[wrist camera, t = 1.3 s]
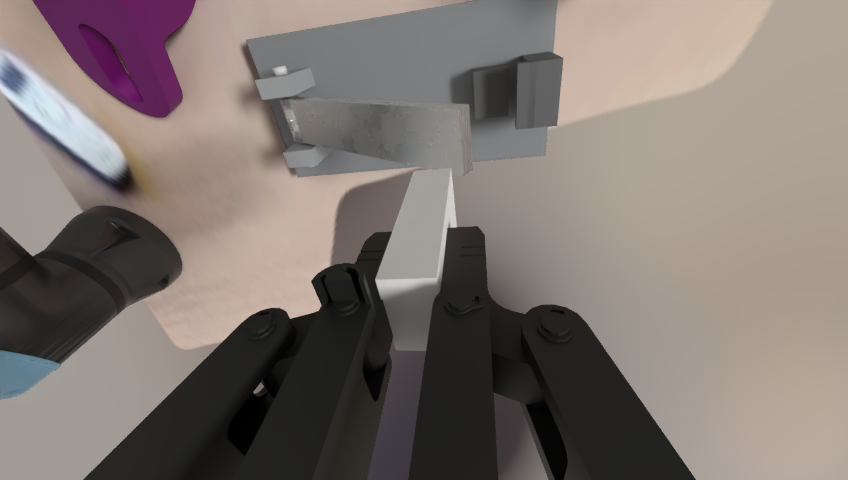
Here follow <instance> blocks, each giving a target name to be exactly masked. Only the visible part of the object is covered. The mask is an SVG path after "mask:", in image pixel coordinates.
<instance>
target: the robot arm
mask: <svg viewBox="0 0 848 480" xmlns="http://www.w3.org/2000/svg"><path fill="white" fill-rule="evenodd" d="M181 272H182V261H181V258H180V255H179V253H178V251H177V250H176V248H175V246H174V245H173V244H172V242H171V241H170V240H169V239H168V238H167V237H166V236H165V235H164V234H163V233H162V232H161V231H160V230H159V229H158V228H156V227H155V226H154V225H152V224H151V223H149V222H148V221H146V220H145V219H143V218H141V217H139V216H138V215H136V214H133V213H131V212H129V211H126V210H123V209H120V208H116V207H111V206H97V207H93V208H91V209H89V210H87V211H85V212H83V213H81V214H79V215H77V216H76V217H74V218H73V219H72V220H71V221H70V222H69V223H68V224H67V225H66V227H65V228H64V229H63V230H62V231H61V232H60V233H59V234H58V236H57V237H56V238H55V239H54V240H53V241H52V242H51V243H50V245H49V246H48V247H47V248H46V249H45V250H43V251H42V252H40V253H38V254H36V255H35V256H31V255H30V254H29V253H28V252H27V251H26V250H25V249H24V248H22V246H20V244H18V243H17V242H16V241H15V240H14V239H13V238H12V237H11V236H10V235H9V234H8V233H6V232H5V231H4V230H3V229H2V228H1V227H0V399H6V398H11V397H15V396H18V395H20V394H22V393H24V392H26V391H27V390H29V389H30V388H31V387H33V386H34V385H35V384H37V383H38V382H39V381H41V380H42V379H43V378H44V377H46V376H47V375H48V374H50V373H51V372H52V371H53V370H56V369H58V368H59V367H60V366H61V364H62V363H63V362H64V361H65V360H66V359H68V358H69V357H70V356H71V355H72V354H73V353H74V352H76V351H77V350H78V349H79V348H80V347H81V346H82V345H83V344H85V343H86V342H87V341H88V340H89V339H90V338H91V337H92V336H94V335H95V334H96V333H97V332H98V331H99V330H101V329H102V328H103V327H104V326H105V325H106V324H107V323H108V322H110V321H111V320H112V319H113V318H114V317H115V316H116V315H118V314H119V313H120V312H121V311H122V310H124V309H125V308H126V307H127V306H129V305H132V304H134V303H136V302H138V301H140V300H142V299H144V298H147V297H149V296H151V295H153V294H155V293H157V292H159V291H162V290H164V289H165V288H167V287H168V286H169V285H171V284H172V283H173V282H174V281H175V280H176V279H177V278H178V277H179V276H180V274H181ZM311 282H312V284H313V287H314V289H315V291H316V293H317V296H318V298H319V300H320V302H321V305H322V306H321V308H320V310H319V311H317V312H314V313H311V314H308V315H304V316H300V317H296V318H292V319H290V318H289V316H288V314H287V312H286V311H284V310H282V309H280V308H269V309H265V310H261V311H259V312H257V313H255V314H253V315H251V316H250V317H249V318H247V319H246V320H245V321H244V322H242V323H241V324H240V325H239V326H238V327H237V328H236V329H235V330H234V331H233V332H232V333H231V334H230V335H229V336H228V337H227V338H226V339H225V340H224V341H223V342H222V343H221V344H220V345H219V346H218V347H217V348H216V349H215V350H214V351H213V352H212V353H211V354H210V355H209V356H208V357H207V358H206V359H205V360H204V361H203V362H202V363H201V364H200V365H199V366H198V367H197V368H196V369H195V370H194V371H193V372H192V373H191V374H190V375H189V376H188V377H187V378H186V379H185V380H184V381H183V382H182V383H181V384H179V385H178V387H176V389H174V390H173V391H172V393H170V394H169V395H168V396H167V397H166V398H165V399H164V400H163V401H162V402H161V403H160V404H159V405H158V406H157V407H156V408H155V409H154V410H153V411H152V412H151V413H150V414H149V415H148V416H147V417H146V418H145V419H144V420H143V421H142V422H141V423H140V424H139V425H138V426H137V427H136V428H135V429H134V430H133V431H132V432H131V433H130V434H129V435H128V436H127V437H126V438H125V439H124V440H123V441H122V442H121V443H120V444H119V445H118V446H117V447H116V448H115V449H114V450H113V451H112V452H111V453H110V454H109V455H108V456H107V457H106V458H105V459H104V460H103V461H102V462H101V463H100V464H99V465H98V466H97V467H96V468H95V469H94V470H93V471H92V472H91V473H89V474H88V475H87V476H86V477H85V479H84V480H367V477H368V473H369V468H370V464H371V460H372V455H373V450H374V446H375V442H376V436H377V432H378V428H379V423H380V419H381V414H382V410H383V405H384V401H385V396H386V392H387V387H388V383H389V378H390V373H391V369H392V360H391V357H390V354H389V351H390V347H391V343H392V339H393V342H394V346H395V349H396V350H406V351H426V356H425V363H424V370H423V378H422V385H421V392H420V399H419V406H418V414H417V421H416V428H415V436H414V443H413V450H412V457H411V464H410V471H409V479H408V480H498V469H497V448H496V430H495V412H494V393H497V394H500V395H502V396H505V397H508V398H510V399H513V400H516V401H518V402H520V404H521V407H522V410H523V412H524V415H525V417H526V420H527V423H528V426H529V428H530V431H531V433H532V436H533V439H534V442H535V444H536V447H537V450H538V452H539V455H540V458H541V460H542V463H543V466H544V468H545V471H546V474H547V477H548V479H549V480H696V479H695V478H694V476H693V475H692V473H691V472H690V471H689V469H688V468H687V466H686V465H685V464H684V462H683V461H682V459H681V458H680V456H679V455H678V453H677V452H676V451H675V449H674V448H673V446H672V445H671V443H670V442H669V440H668V439H667V438H666V436H665V435H664V433H663V432H662V430H661V429H660V428H659V426H658V425H657V423H656V422H655V420H654V419H653V418H652V416H651V415H650V413H649V412H648V411H647V409H646V408H645V406H644V405H643V403H642V402H641V400H640V399H639V398H638V396H637V395H636V393H635V392H634V390H633V389H632V388H631V386H630V385H629V383H628V382H627V380H626V379H625V377H624V376H623V375H622V373H621V372H620V370H619V369H618V367H617V366H616V365H615V363H614V362H613V360H612V359H611V357H610V356H609V355H608V353H607V352H606V350H605V349H604V347H603V346H602V345H601V343H600V342H599V340H598V339H597V337H595V335H594V333H593V332H592V330H591V329H590V327H589V326H588V324H587V323H586V322H585V321H584V320H583V319H582V318H581V317H580V316H579V315H578V314H577V313H575V312H574V311H572V310H570V309H568V308H566V307H562V306H558V305H540V306H537V307H534V308H532V309H530V310H529V311H528V312H527V313H526V314H522V313H518V312H514V311H511V310H508V309H505V308H503V307H502V306H500V305H498V304H497V303H496V302H495V301H494V300H493V299H492V298H491V297H490V295H489V292H488V288H487V270H486V253H485V236H484V234H483V233H482V231H481V230H480V229H479V227H477V226H474V227H457V226H456V214H455V204H454V193H453V183H452V172H451V168H445V169H433V170H421V171H414V173H413V176H412V179H411V181H410V184H409V187H408V190H407V192H406V195H405V198H404V201H403V204H402V206H401V209H400V212H399V215H398V217H397V220H396V223H395V226H394V229H393V231H392V232H376V233H374V234H373V235H372V236H370V237H369V238H368V239H367V240H366V241H365V243H364V245H363V247H362V249H361V253H360V254H359V256H358V258H357V262H355V264H350V263H343V264H336V265H333V266H331V267H328V268H326V269H324V270H323V271H321V272H320V273H318V274H317V275H316V276H315V277H314V278H313V280H312V281H311ZM260 383H262V384H263V385H264V388H263V389H262V390H261V391H260V392H259V393H256V394H254V393H253V391H254V390H255V389H256V387H257V386H258V385H259V384H260Z"/></svg>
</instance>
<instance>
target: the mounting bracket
mask: <svg viewBox="0 0 848 480" xmlns="http://www.w3.org/2000/svg"><path fill="white" fill-rule="evenodd" d="M195 1H196V0H33V2H34V3H35V5H36V6H37V8H38V9H39V10H40V12H41V13H42V15H43V16H44V18H45V19H46V21H47V22H48V24H49V25H50V27H51V28H52V30H53V31H54V32H55V34H56V35H57V37H58V38H59V40H60V41H61V43H62V44H63V46H64V47H65V49H66V50H67V52H68V53H69V54H70V56H71V57H72V58H73V60H74V61H75V62H76V63H77V64H78V66H79V67H80V68H81V69H82V70H83V71H84V72H85V73H86V74H87V75H88V76H89V77H90V78H91V79H92V80H93V81H95V82H96V83H97V84H98V85H99V86H100V87H102V88H103V89H104V90H105V91H107V92H108V93H109V94H111V95H112V96H114V97H115V98H117V99H118V100H120V101H121V102H123V103H124V104H126V105H128V106H129V107H131V108H133V109H135V110H137V111H139V112H141V113H144V114H147V115H150V116H153V117H165V116H167V115H168V114H169V113H170V112H171V111H172V110H174V109H175V108H176V107H177V106H178V105H179V104H180V103H181V101H182V98H183V95H182V90H181V87H180V85H179V82H178V80H177V77H176V74H175V72H174V69H173V67H172V64H171V61H170V59H169V56H168V54H167V51H166V49H165V39H166V38H167V36H169V35H170V34H171V33H172V32H174V31H175V30H176V29H178V28H179V27H180V26H181V25H183V24H184V23H185V21H186V20H187V19H188V17H189V16H190V14H191V12H192V10H193V7H194V4H195ZM109 41H110V42H111V43H112V44H113V45H114V46H115V48H116V49H117V51H118V52H119V54H120V56H121V58H122V60H123V62H124V64H125V66H126V67H127V69H128V71H129V73H130V75H131V77H132V79H133V80H132V79H131V78H130V76H129V75H128V74H127V73H126V71H125V70H124V68H123V66H122V64H121V62H120V60H119V59H118V57H117V55H116V53H115V51H114V49H113V47H112V46H111V44H110V42H109Z"/></svg>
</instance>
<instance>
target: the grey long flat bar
mask: <svg viewBox="0 0 848 480" xmlns="http://www.w3.org/2000/svg"><path fill="white" fill-rule="evenodd" d="M280 102H281V105H282V108H283V111H284V113H285V116H286V119H287V122H288V124H289V127H290V130H291V133H292V135H293V138H294V141H295V143H307V144H312V145H317V146H322V147H327V148H331V149H336V150H341V151H346V152H350V153H355V154H360V155H365V156H370V157H374V158H379V159H384V160H389V161H394V162H398V163H403V164H408V165H413V166H417V167H422V168H427V169H432V170H433V169H445V168H451V172H452V174H456V175H461V176H465V175H466V174H468V173H469V172H471V171H472V170H473V165H472V147H471V129H470V111H469V104H453V103H430V102H407V101H384V100H361V99H338V98H315V97H299V96H290V97H286V98H282V99H280Z"/></svg>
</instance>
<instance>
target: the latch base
mask: <svg viewBox="0 0 848 480" xmlns="http://www.w3.org/2000/svg"><path fill="white" fill-rule="evenodd" d="M556 9H557V0H476V1H470V2H464V3H458V4H452V5H446V6H441V7H435V8H429V9H423V10H417V11H411V12H406V13H400V14H394V15H388V16H382V17H377V18H371V19H365V20H359V21H353V22H347V23H342V24H336V25H330V26H324V27H318V28H313V29H307V30H301V31H295V32H289V33H283V34H278V35H272V36H266V37H260V38H254V39H248V40H246V42H247V45H248V47H249V50H250V53H251V55H252V58H253V61H254V63H255V66H256V68H257V71H258V74H259V76H260V79H257V80H254V81H255V83H256V86H257V88H258V91H259V93H260V96H261V98H262V100H267V99H268V100H269V103H270V105H271V108H272V110H273V113H274V116H275V118H276V121H277V124H278V126H279V129H280V131H281V134H282V137H283V139H284V142H285V144H286V147H287V150H286V151H284V152H283V155H284V157H285V160H286V162H287V165H288V167H289V168H295V171H296V173H297V176H298V177H306V176H318V175H329V174H341V173H352V172H364V171H375V170H386V169H398V168H409V167H417V166H413V165H408V164H403V163H398V162H394V161H389V160H384V159H379V158H374V157H370V156H365V155H360V154H355V153H350V152H346V151H341V150H336V149H331V148H327V147H322V146H317V145H312V144H307V143H295V141H294V138H293V135H292V133H291V130H290V127H289V124H288V122H287V119H286V116H285V113H284V111H283V108H282V105H281V102H280V99H282V98H286V97H290V96H299V97H315V98H338V99H361V100H384V101H407V102H430V103H453V104H469V111H470V129H471V147H472V162H477V161H488V160H500V159H512V158H523V157H533V156H534V157H535V156H545V154H546V141H547V128H548V127H549V126H557V120H558V109H559V98H560V87H561V76H562V65H563V58H562V57H560V56H558V55H556V54H554V53H553V49H554V35H555V22H556Z"/></svg>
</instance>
